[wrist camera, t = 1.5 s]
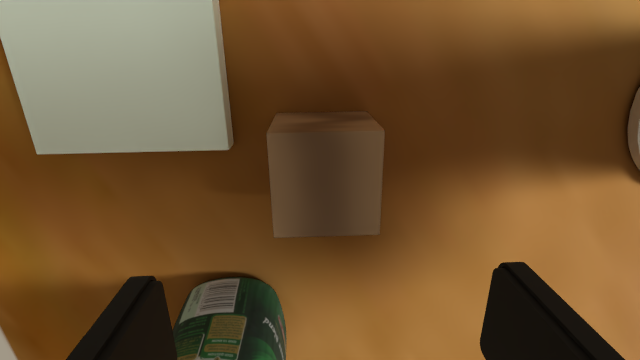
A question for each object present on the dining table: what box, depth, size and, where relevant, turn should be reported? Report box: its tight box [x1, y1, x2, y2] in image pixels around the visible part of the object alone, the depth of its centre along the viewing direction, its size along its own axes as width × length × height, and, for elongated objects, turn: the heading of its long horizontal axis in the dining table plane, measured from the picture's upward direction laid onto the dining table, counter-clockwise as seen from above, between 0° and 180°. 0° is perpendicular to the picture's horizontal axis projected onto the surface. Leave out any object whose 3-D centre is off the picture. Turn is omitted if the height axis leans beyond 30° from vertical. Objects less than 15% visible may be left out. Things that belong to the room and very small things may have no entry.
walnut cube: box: [266, 111, 385, 238], centre depth 22 cm, size 6×6×6 cm
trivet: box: [0, 0, 234, 154], centre depth 21 cm, size 12×12×2 cm
